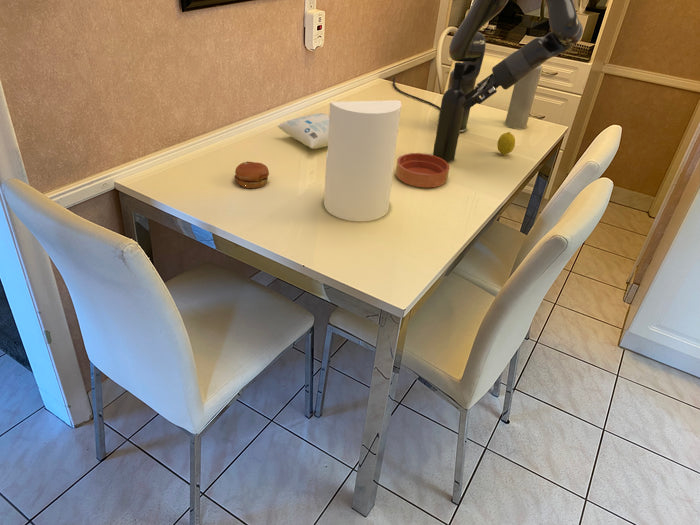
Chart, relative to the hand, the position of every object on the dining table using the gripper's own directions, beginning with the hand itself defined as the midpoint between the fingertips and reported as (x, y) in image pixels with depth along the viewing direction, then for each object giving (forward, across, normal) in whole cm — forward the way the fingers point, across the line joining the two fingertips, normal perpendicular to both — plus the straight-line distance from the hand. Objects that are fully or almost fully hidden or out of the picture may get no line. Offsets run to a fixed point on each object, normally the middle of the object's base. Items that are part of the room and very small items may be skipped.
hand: (464, 103), depth 158 cm
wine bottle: (+16, 0, +11) cm, 19 cm away
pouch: (+45, +2, -18) cm, 49 cm away
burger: (+52, +37, -25) cm, 68 cm away
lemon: (+2, -12, +24) cm, 27 cm away
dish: (+19, +16, +7) cm, 26 cm away
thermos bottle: (-1, -44, +28) cm, 52 cm away
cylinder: (+30, +40, -3) cm, 50 cm away
